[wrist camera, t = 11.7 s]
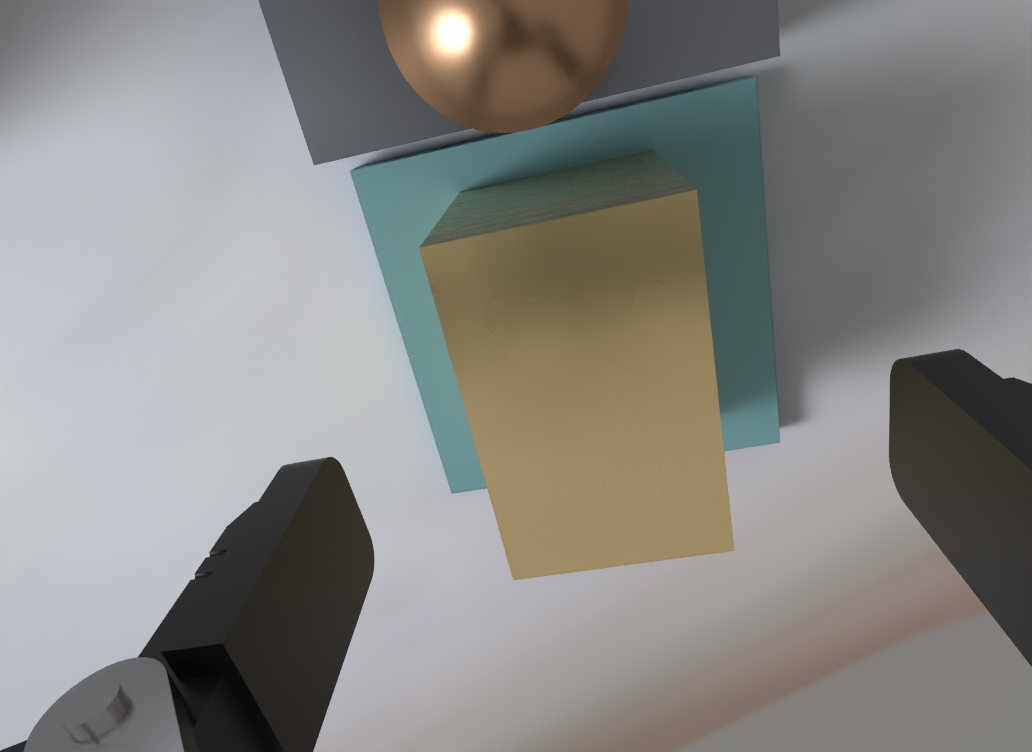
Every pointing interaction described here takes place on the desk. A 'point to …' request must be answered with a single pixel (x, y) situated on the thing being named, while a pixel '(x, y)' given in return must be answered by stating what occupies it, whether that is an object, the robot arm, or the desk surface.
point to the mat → (569, 143)
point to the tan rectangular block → (586, 363)
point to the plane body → (491, 60)
